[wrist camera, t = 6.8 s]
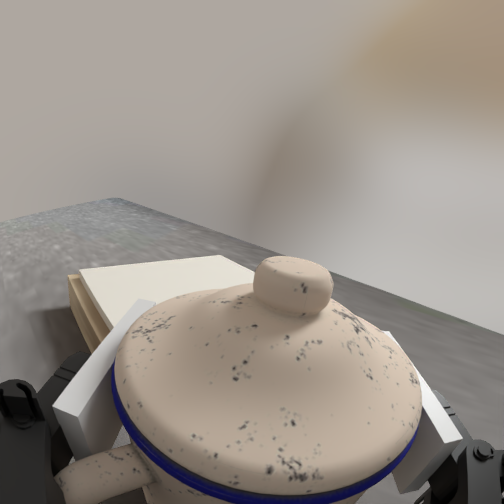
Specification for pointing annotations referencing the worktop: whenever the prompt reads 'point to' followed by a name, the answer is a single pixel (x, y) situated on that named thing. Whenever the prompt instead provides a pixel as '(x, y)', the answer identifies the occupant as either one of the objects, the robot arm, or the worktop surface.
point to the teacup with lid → (254, 398)
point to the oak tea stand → (143, 288)
